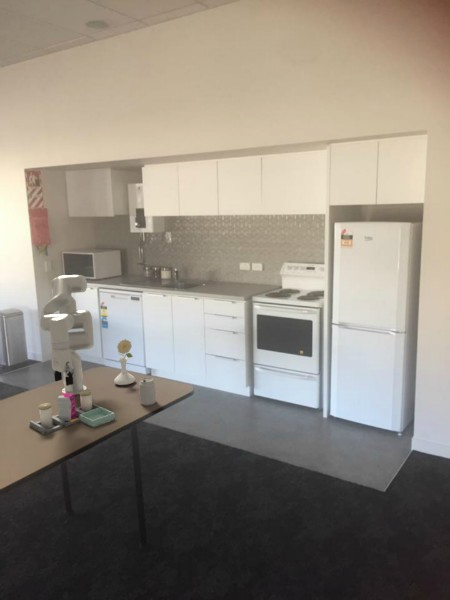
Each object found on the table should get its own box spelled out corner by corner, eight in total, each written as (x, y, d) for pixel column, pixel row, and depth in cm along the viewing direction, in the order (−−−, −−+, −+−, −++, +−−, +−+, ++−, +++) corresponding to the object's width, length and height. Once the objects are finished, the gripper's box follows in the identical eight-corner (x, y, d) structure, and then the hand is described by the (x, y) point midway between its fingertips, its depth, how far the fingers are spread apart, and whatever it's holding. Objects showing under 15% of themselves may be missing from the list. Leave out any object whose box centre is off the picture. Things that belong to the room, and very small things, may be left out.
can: (141, 400, 247) (139, 377, 245) (156, 399, 247) (155, 376, 245) (139, 406, 239) (138, 382, 237) (155, 405, 240) (154, 381, 238)
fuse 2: (79, 412, 235) (77, 392, 233) (89, 409, 239) (87, 389, 237) (85, 415, 231) (83, 394, 230) (95, 411, 235) (93, 391, 233)
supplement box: (70, 422, 225) (68, 398, 222) (58, 421, 226) (56, 397, 224) (76, 417, 230) (74, 393, 228) (65, 416, 231) (62, 392, 229)
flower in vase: (109, 384, 272) (106, 339, 267) (125, 378, 281) (122, 334, 276) (126, 389, 264) (122, 342, 259) (142, 382, 273) (139, 337, 268)
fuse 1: (38, 427, 221) (36, 405, 219) (49, 423, 224) (47, 402, 223) (44, 430, 217) (42, 408, 215) (55, 426, 221) (53, 404, 219)
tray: (79, 420, 226) (78, 414, 225) (100, 413, 234) (100, 406, 233) (93, 427, 218) (92, 421, 218) (115, 419, 226) (114, 413, 226)
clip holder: (29, 426, 222) (28, 421, 221) (89, 405, 243) (88, 400, 243) (43, 434, 213) (42, 429, 212) (104, 412, 234) (103, 407, 234)
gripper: (42, 344, 225) (46, 381, 228) (62, 350, 213) (66, 388, 216) (58, 340, 230) (61, 376, 233) (78, 346, 218) (81, 384, 221)
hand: (64, 382), depth 224 cm, fingers open, 9 cm apart
